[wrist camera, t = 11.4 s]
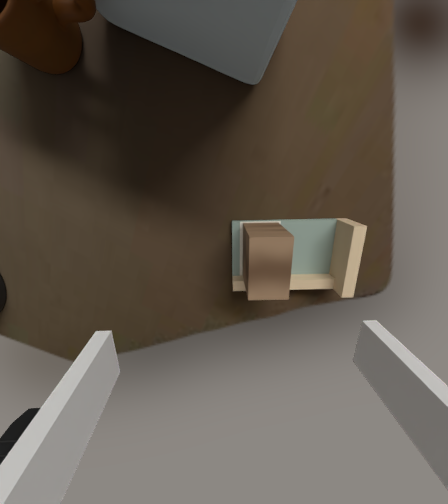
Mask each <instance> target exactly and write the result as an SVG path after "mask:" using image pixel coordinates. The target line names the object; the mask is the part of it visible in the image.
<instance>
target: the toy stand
mask: <svg viewBox="0 0 448 504" xmlns="http://www.w3.org/2000/svg"><path fill="white" fill-rule="evenodd" d="M266 222H278V223H280V224H281V225H282V226H283V227H284V228H285V229H286V230H287V231H289V232H290V233H291V234H292V235H293V236H294V247H293V258H292V269H291V279H290V290H301V289H334V290H335V291H336V292H337V293H338V294H339V295H340V296H341V297H353V295H354V290H355V285H356V280H357V275H358V270H359V265H360V260H361V255H362V250H363V245H364V240H365V235H366V229H367V226H365V225H363V224H360V223H357V222H355V221H352V220H349V219H347V218H338V219H290V220H242V221H232V285H233V291H246V289H245V284H244V279H243V275H242V262H243V223H266Z"/></svg>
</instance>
